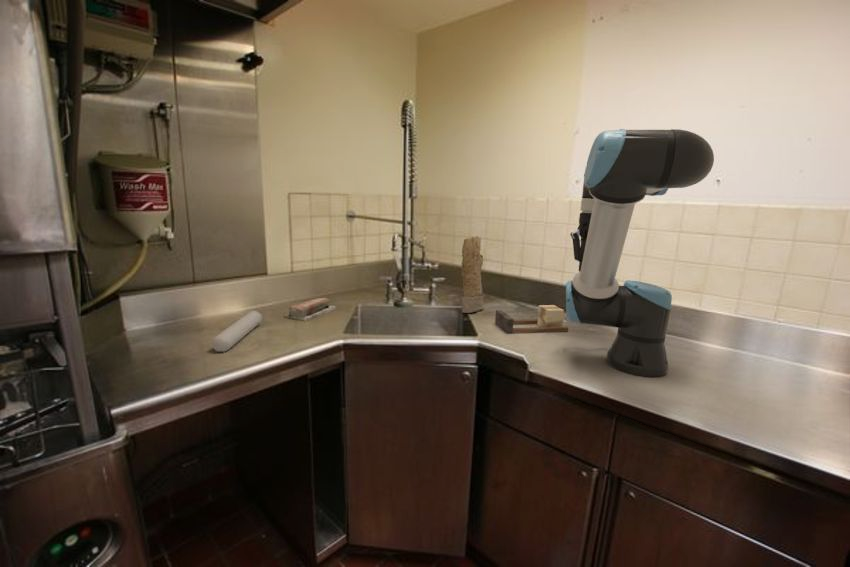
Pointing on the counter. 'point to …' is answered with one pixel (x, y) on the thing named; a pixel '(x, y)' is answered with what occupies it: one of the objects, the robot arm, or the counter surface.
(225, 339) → the tube
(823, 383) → the counter surface
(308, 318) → the packaged product
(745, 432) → the counter surface
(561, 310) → the block
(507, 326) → the guide channel
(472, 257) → the glove
